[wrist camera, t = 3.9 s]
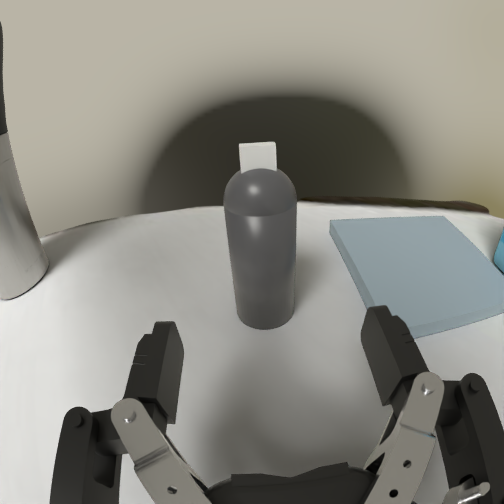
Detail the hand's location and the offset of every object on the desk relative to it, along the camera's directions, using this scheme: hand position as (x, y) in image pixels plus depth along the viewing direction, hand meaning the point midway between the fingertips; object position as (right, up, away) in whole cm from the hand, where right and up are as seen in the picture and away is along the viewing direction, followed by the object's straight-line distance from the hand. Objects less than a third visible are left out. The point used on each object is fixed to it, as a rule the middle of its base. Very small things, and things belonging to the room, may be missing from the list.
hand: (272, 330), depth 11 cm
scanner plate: (+16, +2, +13) cm, 21 cm away
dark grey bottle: (0, -1, +11) cm, 11 cm away
